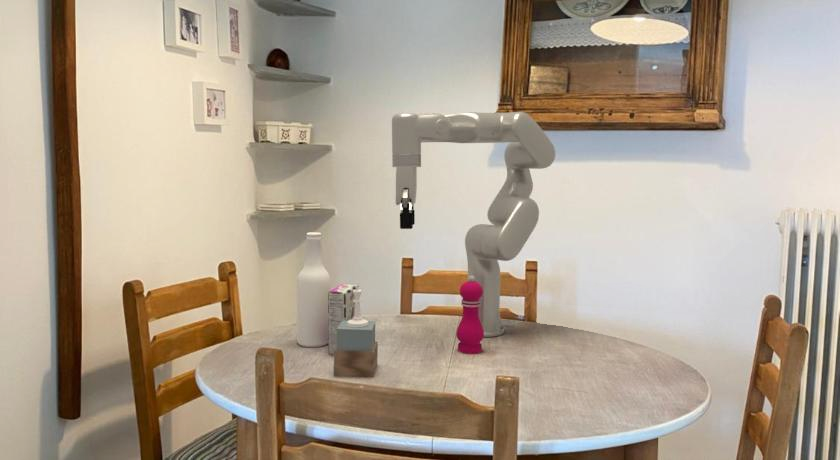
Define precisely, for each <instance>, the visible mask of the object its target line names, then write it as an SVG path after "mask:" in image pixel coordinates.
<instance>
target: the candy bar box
mask: <svg viewBox="0 0 840 460" xmlns="http://www.w3.org/2000/svg"><path fill="white" fill-rule="evenodd" d="M355 285H356V284H351V283H350V284H347V283H342V284H339V285H338V286H336V287H335V288H333V289H330V291H329V292H328V324H329V326H328V328H329V343H328V355H331V356H334V350H335V349H336V347H337V328H338V326H339V325H340V323H341V322H342V321H349V320H351V319H353V317H354V313H355V302H353V300H355V297H354V293H353V290H355V289H356V288H355Z"/></svg>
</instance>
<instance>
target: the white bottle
mask: <svg viewBox="0 0 840 460" xmlns="http://www.w3.org/2000/svg"><path fill="white" fill-rule="evenodd" d="M305 235H306V238H305V239H306V248H305V258H304V259H305V260H304V265H303V268H302V269H301V270H300V272H299V273H298V275H297V279H296V325H297V326H296V329H297V330H296V332H297V333H296V341H297V343H298V344H299V346H301V347H305V348H320V347H324V346H327V345H329V328H328V326H329V324H328V292H329V291H331V276H330V274H329V272H328V271H327V269H326V268H325V266H324V263H323V253H322V251H323V250H322V233H321V232H318V231H310V232H307V233H306V234H305Z"/></svg>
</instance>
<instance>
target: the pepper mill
mask: <svg viewBox="0 0 840 460" xmlns="http://www.w3.org/2000/svg"><path fill="white" fill-rule="evenodd" d="M468 280H469V281H468ZM467 281H468V282H467ZM467 281H465V282H463V283H462V284H461V286H460V288H459V295H460V296H461V303H460V304H461V306H462V317H461V319H460V322H459V324H458V326H457V328H456V338H457V339H458V341H459V342H458V343H457V351H458V352H459V353H462V354H467V355H469V354H470V355H475V354H480V353H481V352H482V349H483V344H482V343H481V341H483V339H484V338H485V337H484V331H483V327H482V325H481V322H480V319H479V313H478V310H479V306H480V305H481V304H480V302H481V301H480V300H479V299H480V297H481V296H482V294H483V289H482V286H481V285H480V284H479V283H477V282H474V281H475V277H474V276H472V275H471V276H469V277H468V276H467Z"/></svg>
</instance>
